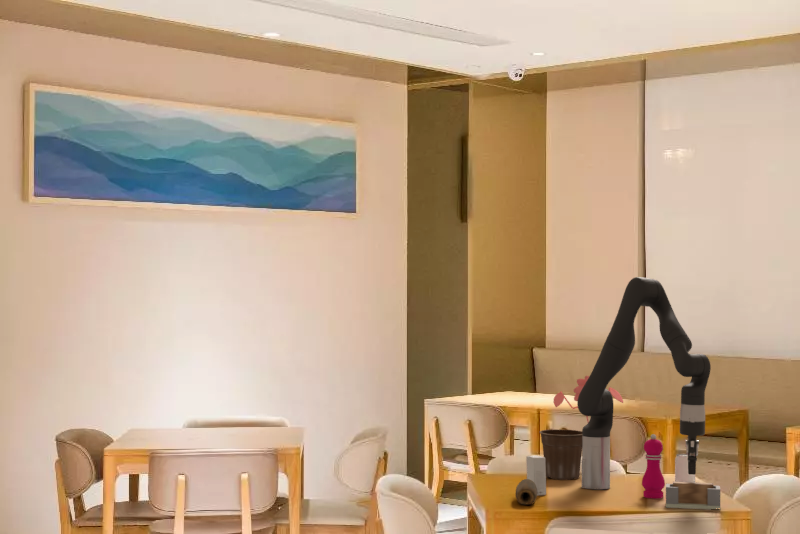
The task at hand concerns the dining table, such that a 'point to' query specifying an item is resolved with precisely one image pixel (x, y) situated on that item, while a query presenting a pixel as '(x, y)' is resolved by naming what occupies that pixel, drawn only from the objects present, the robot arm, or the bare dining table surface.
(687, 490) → the slat
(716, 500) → the holder
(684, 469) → the can
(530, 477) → the skincare box
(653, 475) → the pepper mill
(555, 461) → the plant pot
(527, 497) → the brown twine roll
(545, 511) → the dining table surface
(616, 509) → the dining table surface
